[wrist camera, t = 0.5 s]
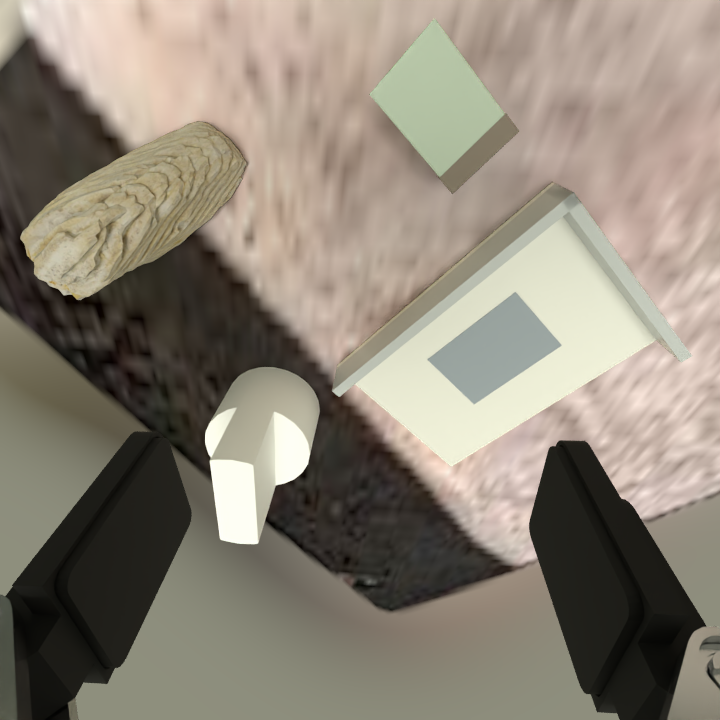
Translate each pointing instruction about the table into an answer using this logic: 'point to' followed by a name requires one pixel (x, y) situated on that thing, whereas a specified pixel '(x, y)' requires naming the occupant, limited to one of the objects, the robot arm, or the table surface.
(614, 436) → the table surface
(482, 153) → the block
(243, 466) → the white knob
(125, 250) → the fossil tooth
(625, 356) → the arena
